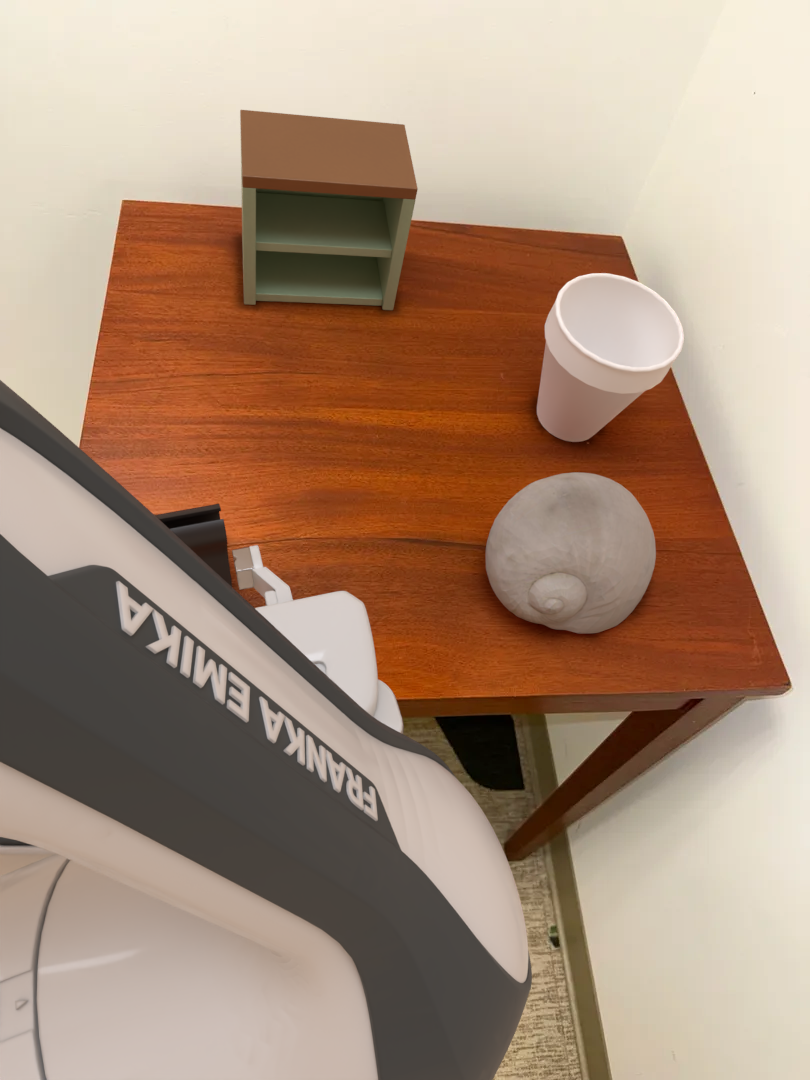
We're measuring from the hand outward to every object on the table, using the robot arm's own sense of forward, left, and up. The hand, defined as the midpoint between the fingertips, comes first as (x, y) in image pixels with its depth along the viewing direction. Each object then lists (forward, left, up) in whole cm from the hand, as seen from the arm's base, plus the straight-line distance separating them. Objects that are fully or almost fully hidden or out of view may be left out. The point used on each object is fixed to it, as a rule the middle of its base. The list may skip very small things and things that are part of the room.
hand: (159, 569), depth 42 cm
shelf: (+13, +47, -20) cm, 53 cm away
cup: (+38, +28, -20) cm, 51 cm away
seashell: (+33, +10, -20) cm, 40 cm away
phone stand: (0, +8, -20) cm, 22 cm away
